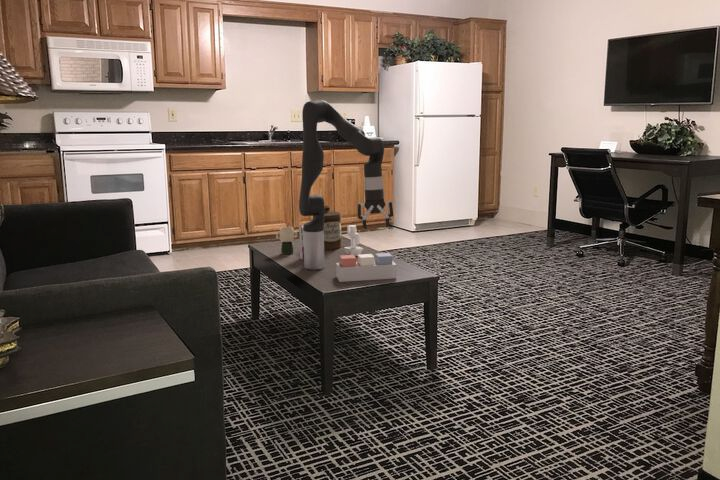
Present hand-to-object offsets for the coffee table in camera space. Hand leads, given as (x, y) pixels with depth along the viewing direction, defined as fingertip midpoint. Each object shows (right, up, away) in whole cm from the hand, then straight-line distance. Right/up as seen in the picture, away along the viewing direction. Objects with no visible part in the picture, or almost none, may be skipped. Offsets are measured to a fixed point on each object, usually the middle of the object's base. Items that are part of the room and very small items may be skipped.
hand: (376, 228), depth 236 cm
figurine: (-10, -12, +55) cm, 58 cm away
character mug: (-43, -12, +60) cm, 75 cm away
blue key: (+4, -16, +15) cm, 22 cm away
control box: (-4, -21, +15) cm, 26 cm away
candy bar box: (-30, -14, +50) cm, 59 cm away
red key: (-12, -17, +12) cm, 24 cm away
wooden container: (-24, -9, +75) cm, 79 cm away
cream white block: (-4, -16, +14) cm, 22 cm away
